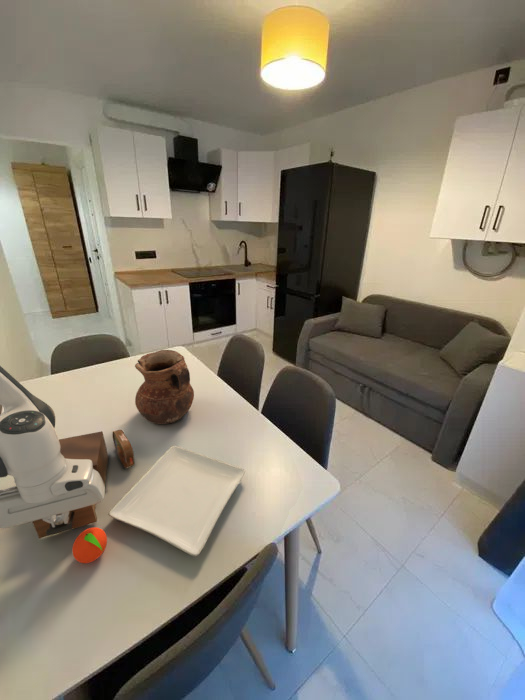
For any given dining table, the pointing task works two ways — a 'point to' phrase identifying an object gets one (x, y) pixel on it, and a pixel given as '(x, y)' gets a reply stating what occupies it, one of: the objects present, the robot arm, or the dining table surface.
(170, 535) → the square plate
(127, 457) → the tin
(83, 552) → the clementine
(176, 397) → the jug
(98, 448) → the cabinet
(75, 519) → the drawer
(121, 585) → the dining table surface
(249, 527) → the dining table surface
